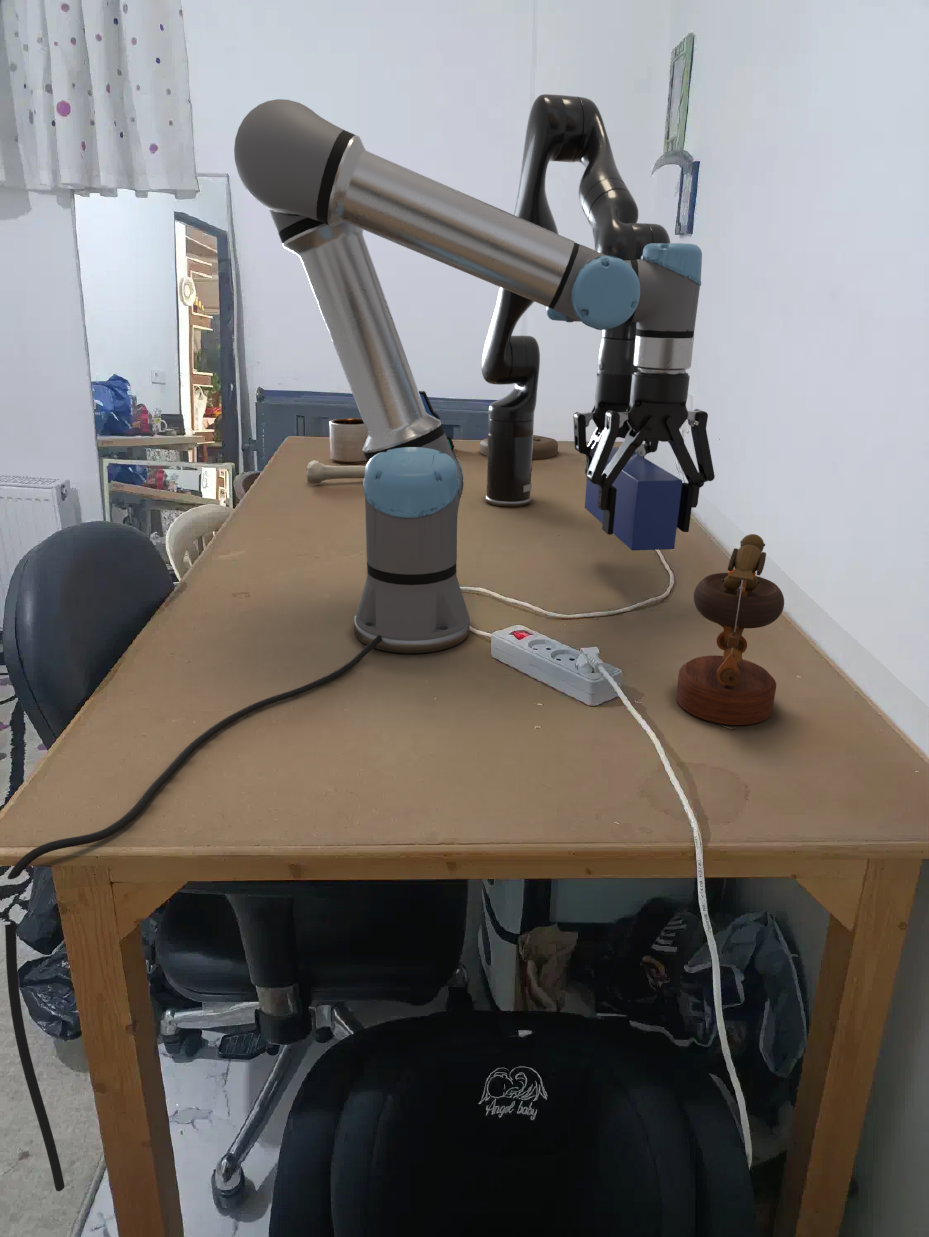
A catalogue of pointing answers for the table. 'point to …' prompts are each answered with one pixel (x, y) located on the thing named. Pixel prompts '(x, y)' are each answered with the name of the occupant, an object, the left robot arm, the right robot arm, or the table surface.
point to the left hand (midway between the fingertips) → (645, 530)
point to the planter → (347, 440)
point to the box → (641, 504)
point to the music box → (733, 642)
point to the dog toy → (332, 472)
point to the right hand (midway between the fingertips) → (613, 479)
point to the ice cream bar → (541, 447)
